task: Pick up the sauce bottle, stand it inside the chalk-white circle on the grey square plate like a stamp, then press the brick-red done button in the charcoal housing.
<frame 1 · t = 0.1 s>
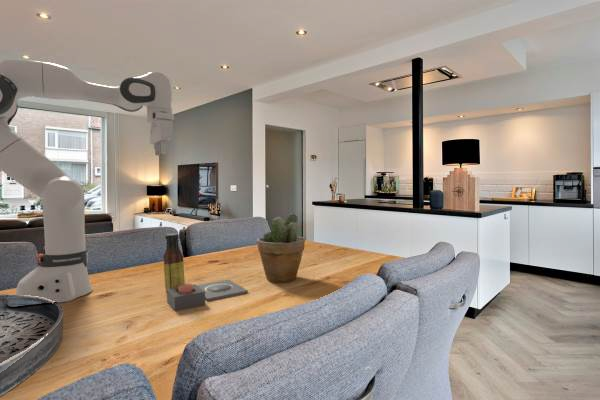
hand: (160, 154, 129), 48 cm above the table, fingers open, 8 cm apart
potted plant: (281, 279, 131), on the table
button housing: (185, 303, 104), on the table
sauce bottle: (174, 292, 115), on the table
grey square plate: (219, 290, 117), on the table
done button: (185, 291, 104), point 4 cm above the table, slide at 0.0 cm
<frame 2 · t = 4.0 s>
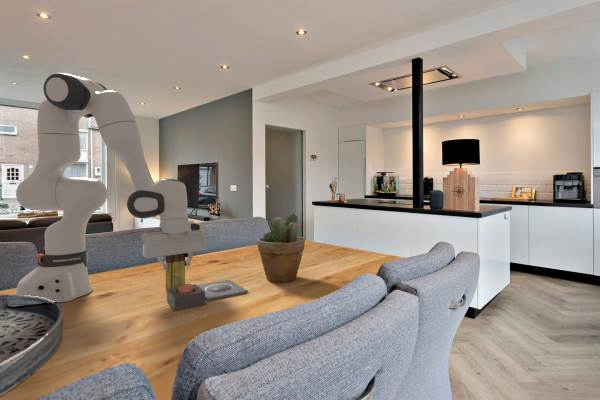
hand: (176, 267, 114), 9 cm above the table, fingers open, 6 cm apart
sauce bottle: (174, 292, 115), on the table, touching arm, gripper
everything else where it was.
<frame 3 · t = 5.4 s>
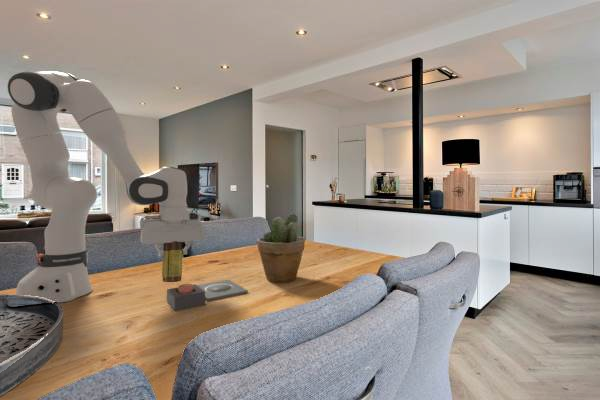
hand: (173, 255, 115), 12 cm above the table, fingers closed on sauce bottle, 6 cm apart
sauce bottle: (171, 282, 114), point 4 cm above the table, touching gripper
everything else where it was.
when the fingers open (11 cm above the table, at t = 11.9 s): sauce bottle stays where it is, resting on grey square plate.
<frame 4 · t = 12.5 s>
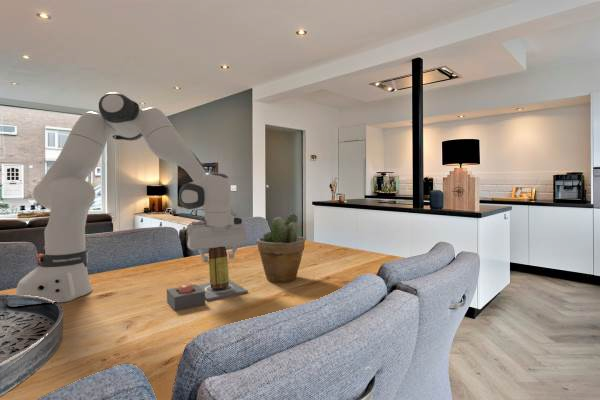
hand: (218, 260, 116), 11 cm above the table, fingers open, 8 cm apart
sauce bottle: (219, 288, 116), point 1 cm above the table, touching grey square plate
everything else where it was.
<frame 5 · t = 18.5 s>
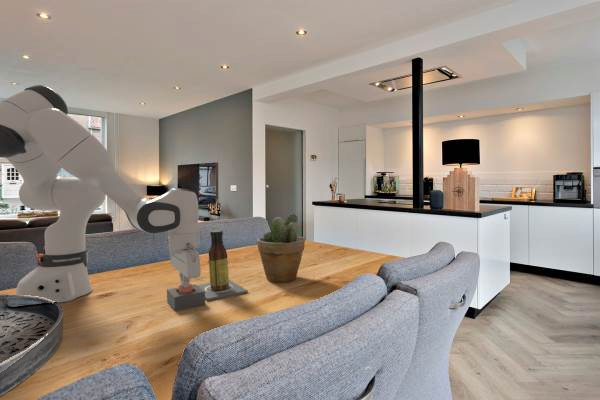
hand: (185, 286, 104), 5 cm above the table, fingers closed, pressing on done button
done button: (185, 291, 104), point 4 cm above the table, slide at 0.0 cm, touching gripper
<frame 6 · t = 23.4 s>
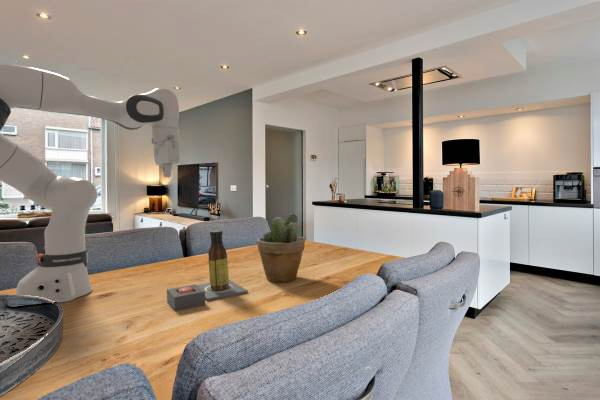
hand: (167, 177, 119), 39 cm above the table, fingers closed
done button: (185, 294, 104), point 3 cm above the table, slide at 1.1 cm
everything else where it was.
at the end: sauce bottle 0.7 cm off-centre on the grey square plate, point 0.7 cm above the grey square plate's base; sauce bottle tilted 1°; done button slide at 1.1 cm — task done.
